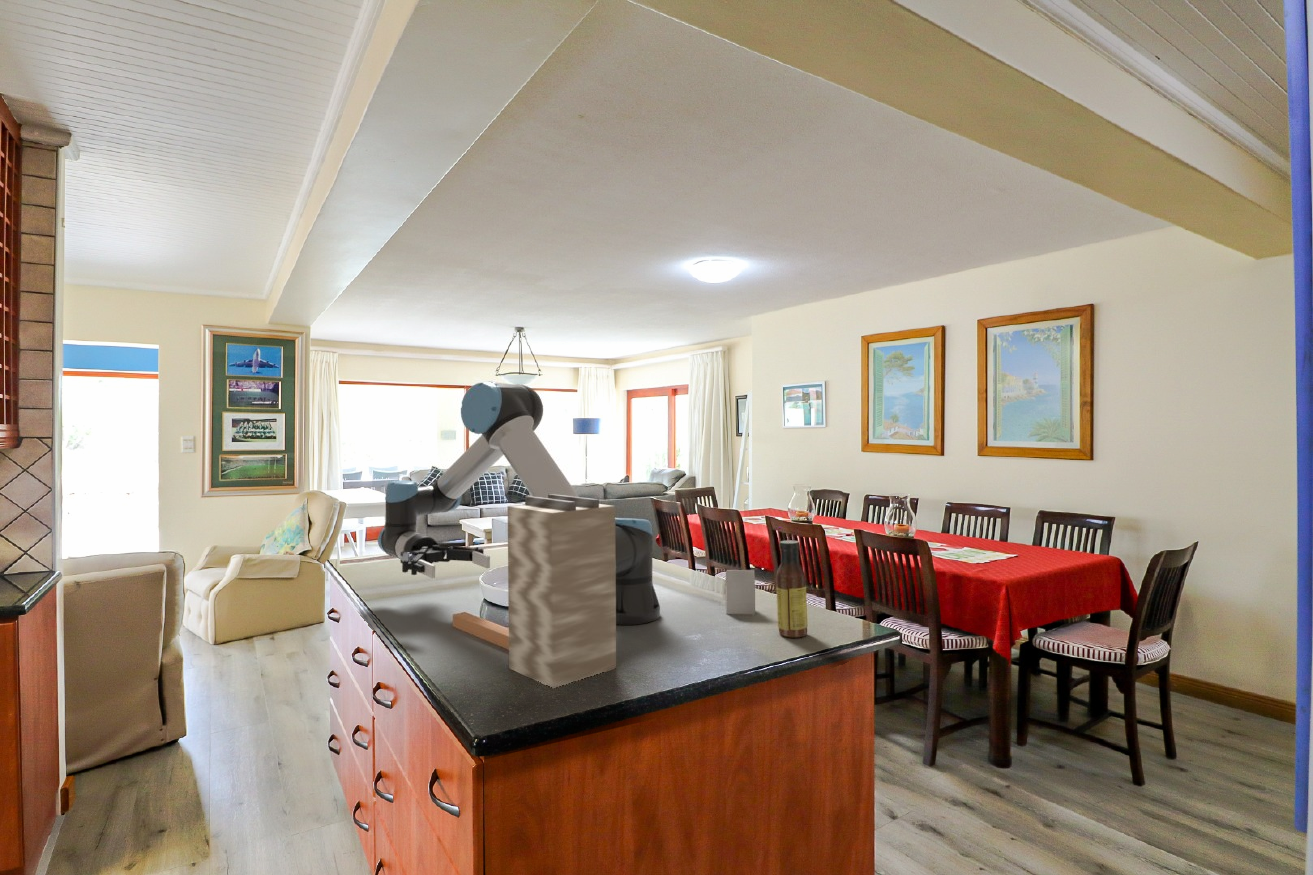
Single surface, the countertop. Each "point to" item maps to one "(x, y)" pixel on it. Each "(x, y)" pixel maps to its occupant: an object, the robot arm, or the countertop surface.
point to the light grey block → (740, 592)
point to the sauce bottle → (791, 592)
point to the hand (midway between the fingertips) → (462, 566)
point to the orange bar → (482, 628)
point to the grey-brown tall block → (561, 588)
